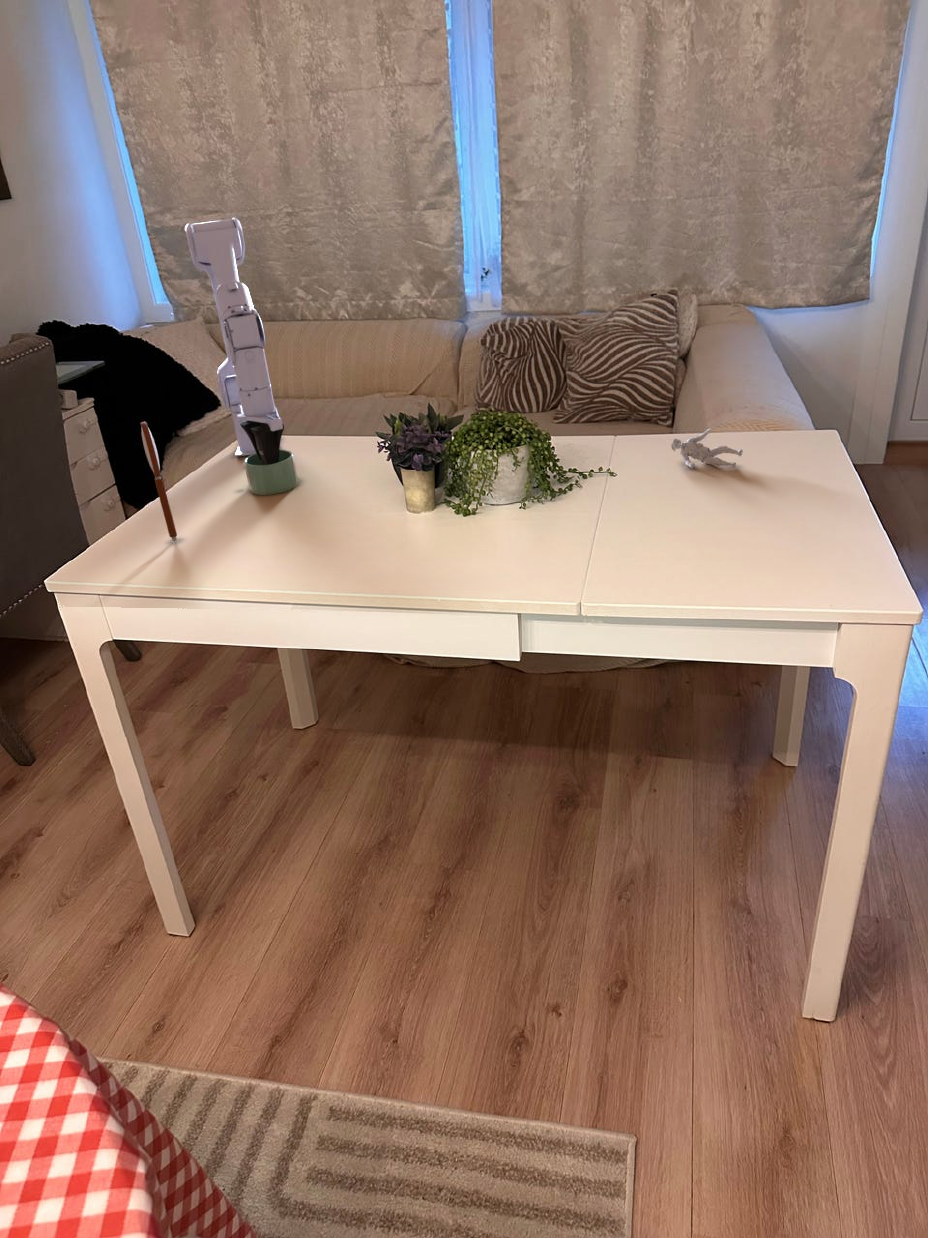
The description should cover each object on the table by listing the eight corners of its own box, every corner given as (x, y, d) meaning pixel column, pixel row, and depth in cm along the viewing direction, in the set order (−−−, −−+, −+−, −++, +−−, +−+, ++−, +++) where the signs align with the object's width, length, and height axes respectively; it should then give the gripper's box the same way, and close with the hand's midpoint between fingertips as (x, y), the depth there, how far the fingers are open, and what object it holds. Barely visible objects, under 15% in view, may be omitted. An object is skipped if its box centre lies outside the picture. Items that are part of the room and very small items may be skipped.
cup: (253, 480, 173) (247, 452, 170) (299, 475, 173) (294, 447, 170) (247, 497, 165) (241, 468, 162) (295, 491, 165) (290, 462, 163)
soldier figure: (726, 480, 155) (661, 453, 158) (725, 490, 159) (662, 463, 163) (747, 440, 155) (682, 414, 159) (745, 451, 160) (682, 425, 163)
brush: (263, 468, 169) (255, 431, 165) (280, 466, 169) (273, 429, 165) (261, 474, 166) (253, 436, 163) (278, 472, 166) (271, 434, 163)
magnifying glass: (183, 549, 147) (151, 428, 137) (172, 552, 146) (140, 430, 136) (177, 531, 154) (146, 414, 144) (166, 533, 153) (135, 416, 143)
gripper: (217, 384, 164) (233, 457, 170) (249, 399, 153) (264, 476, 159) (254, 376, 167) (268, 447, 173) (287, 389, 156) (301, 465, 163)
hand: (269, 460), depth 167 cm, fingers closed on brush, 3 cm apart
